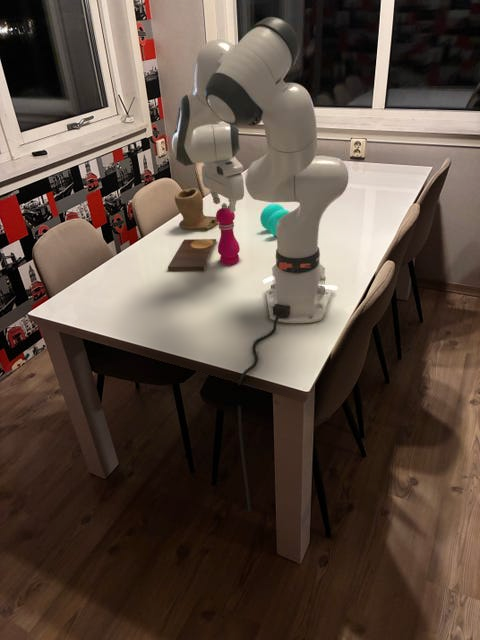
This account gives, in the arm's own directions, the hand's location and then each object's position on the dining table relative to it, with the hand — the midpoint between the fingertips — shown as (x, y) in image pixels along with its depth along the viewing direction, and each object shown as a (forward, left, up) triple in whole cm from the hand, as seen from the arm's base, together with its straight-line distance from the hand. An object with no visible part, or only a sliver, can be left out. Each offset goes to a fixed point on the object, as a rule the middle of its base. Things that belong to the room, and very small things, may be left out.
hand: (224, 207), depth 154 cm
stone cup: (+30, +18, -19) cm, 40 cm away
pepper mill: (0, 0, -19) cm, 19 cm away
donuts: (+23, -14, -19) cm, 33 cm away
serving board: (+4, +13, -19) cm, 23 cm away
